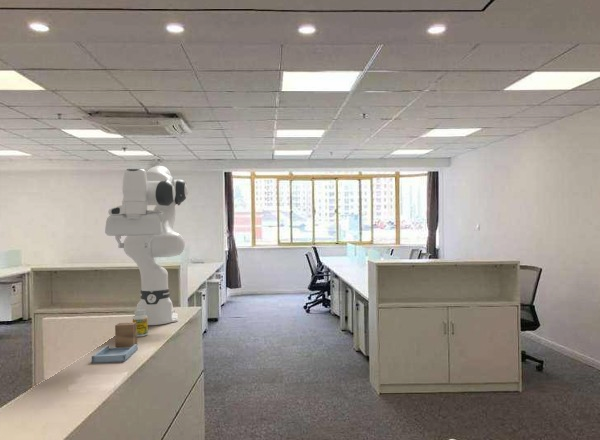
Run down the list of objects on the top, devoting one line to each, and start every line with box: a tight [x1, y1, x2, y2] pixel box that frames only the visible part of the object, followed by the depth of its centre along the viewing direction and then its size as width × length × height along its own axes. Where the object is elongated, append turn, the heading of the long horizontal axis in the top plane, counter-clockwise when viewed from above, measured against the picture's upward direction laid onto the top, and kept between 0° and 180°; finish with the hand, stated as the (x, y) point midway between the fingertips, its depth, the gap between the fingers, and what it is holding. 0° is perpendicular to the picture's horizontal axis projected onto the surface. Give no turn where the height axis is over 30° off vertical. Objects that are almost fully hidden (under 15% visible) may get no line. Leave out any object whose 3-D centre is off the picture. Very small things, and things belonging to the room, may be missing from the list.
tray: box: [91, 343, 139, 364], centre depth 146 cm, size 13×10×2 cm
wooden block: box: [114, 322, 138, 348], centre depth 157 cm, size 4×6×8 cm, turn 94°
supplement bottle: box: [132, 309, 149, 338], centre depth 174 cm, size 5×5×10 cm
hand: (134, 247), depth 168 cm, fingers open, 8 cm apart
